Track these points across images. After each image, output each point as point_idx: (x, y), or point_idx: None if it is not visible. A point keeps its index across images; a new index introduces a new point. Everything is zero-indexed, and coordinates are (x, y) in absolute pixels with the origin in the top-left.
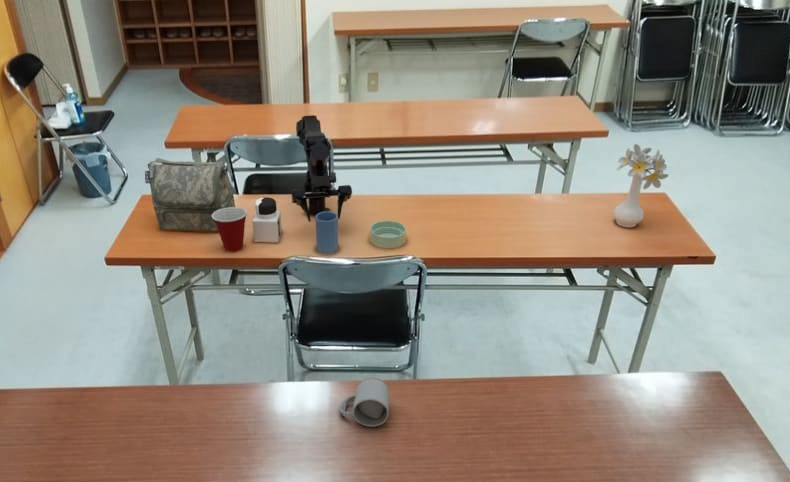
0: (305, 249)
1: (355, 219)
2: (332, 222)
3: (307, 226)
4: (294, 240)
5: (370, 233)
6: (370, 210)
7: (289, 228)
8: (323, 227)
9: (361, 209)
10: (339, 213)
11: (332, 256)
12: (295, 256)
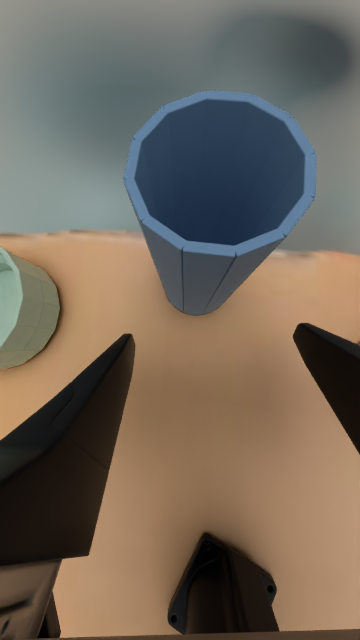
0: (263, 291)
1: None
2: (176, 123)
3: (260, 456)
4: None
5: (33, 296)
6: None
7: (328, 448)
8: (233, 154)
9: None
10: (113, 349)
11: None
12: (292, 254)
